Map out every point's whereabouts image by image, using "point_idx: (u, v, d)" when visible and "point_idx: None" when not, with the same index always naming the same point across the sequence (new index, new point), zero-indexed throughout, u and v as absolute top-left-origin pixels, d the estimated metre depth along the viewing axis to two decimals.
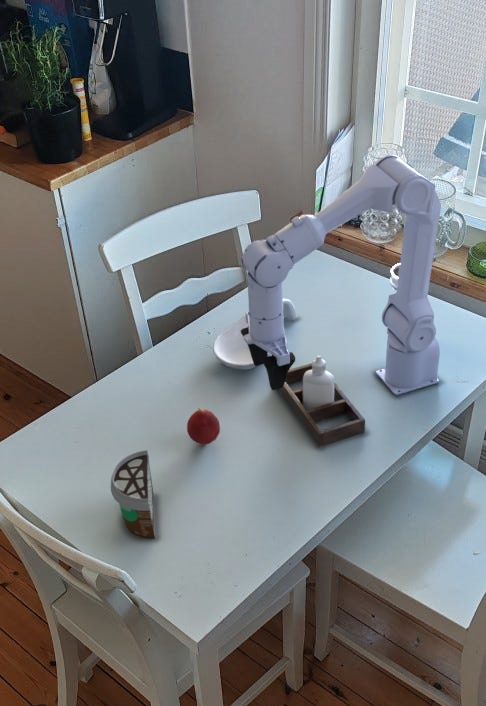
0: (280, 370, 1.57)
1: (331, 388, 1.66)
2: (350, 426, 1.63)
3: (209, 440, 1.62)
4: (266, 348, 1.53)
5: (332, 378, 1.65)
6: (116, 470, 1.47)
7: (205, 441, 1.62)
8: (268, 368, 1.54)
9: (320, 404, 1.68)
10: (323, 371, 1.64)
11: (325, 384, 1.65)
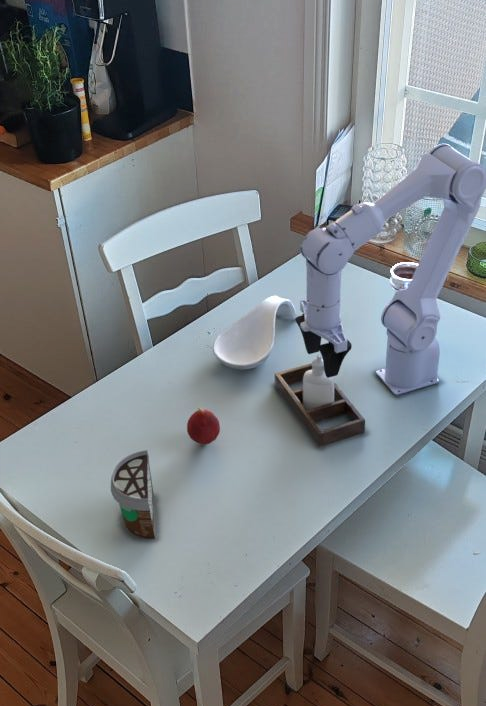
0: (336, 357, 1.59)
1: (331, 388, 1.66)
2: (350, 426, 1.63)
3: (209, 440, 1.62)
4: (323, 335, 1.55)
5: (332, 378, 1.65)
6: (116, 470, 1.47)
7: (205, 441, 1.62)
8: (325, 355, 1.55)
9: (320, 404, 1.68)
10: (323, 371, 1.64)
11: (325, 384, 1.65)
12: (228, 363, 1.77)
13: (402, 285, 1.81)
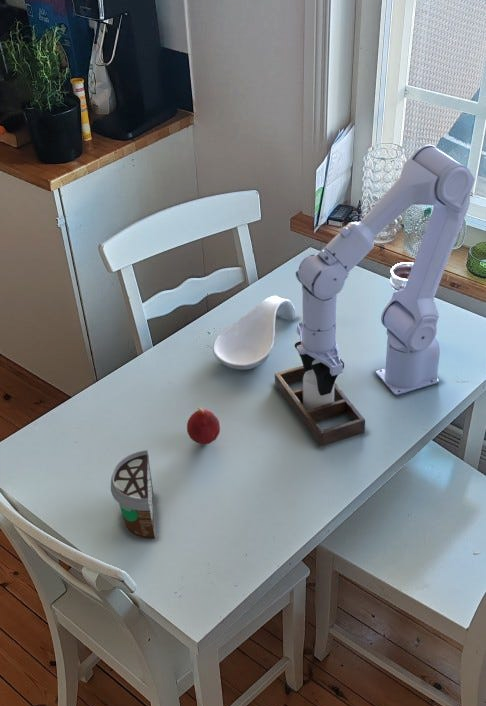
0: (329, 376, 1.62)
1: None
2: (350, 426, 1.63)
3: (209, 440, 1.62)
4: (319, 358, 1.58)
5: None
6: (116, 470, 1.47)
7: (205, 441, 1.62)
8: (318, 374, 1.59)
9: (320, 404, 1.68)
10: None
11: None
12: (228, 363, 1.77)
13: (402, 285, 1.81)
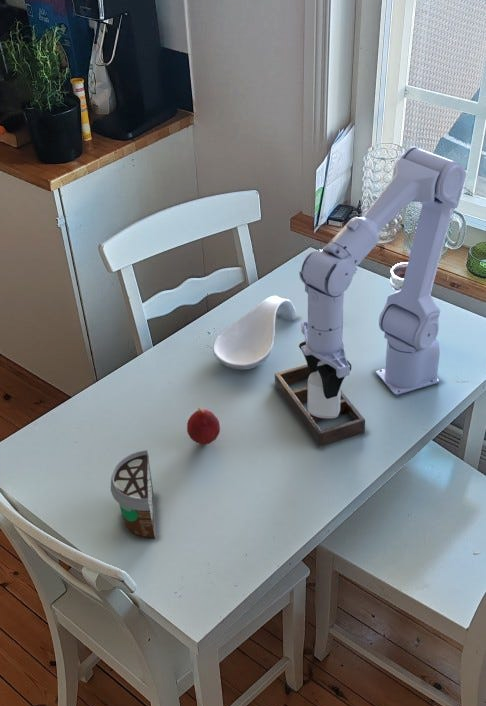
0: (335, 378, 1.54)
1: None
2: (350, 426, 1.63)
3: (209, 440, 1.62)
4: (325, 360, 1.50)
5: None
6: (116, 470, 1.47)
7: (205, 441, 1.62)
8: (324, 376, 1.51)
9: (325, 408, 1.60)
10: None
11: None
12: (228, 363, 1.77)
13: None
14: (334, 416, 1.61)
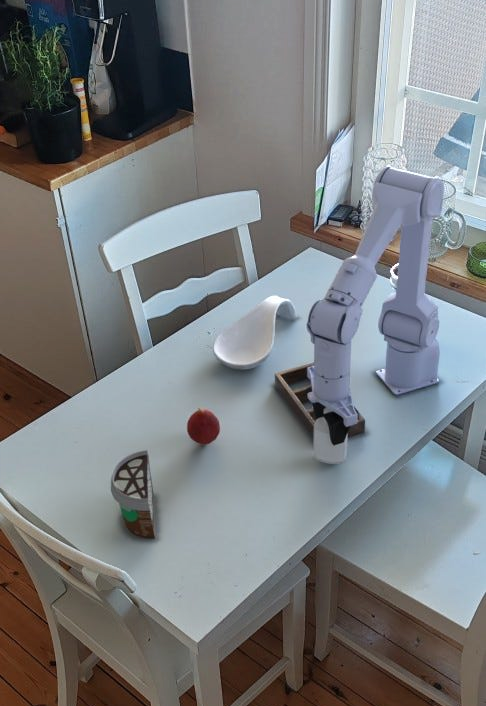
0: (342, 425, 1.51)
1: None
2: None
3: (209, 440, 1.62)
4: (332, 408, 1.46)
5: None
6: (116, 470, 1.47)
7: (205, 441, 1.62)
8: (331, 424, 1.48)
9: (332, 453, 1.56)
10: None
11: None
12: (228, 363, 1.77)
13: None
14: (341, 462, 1.58)
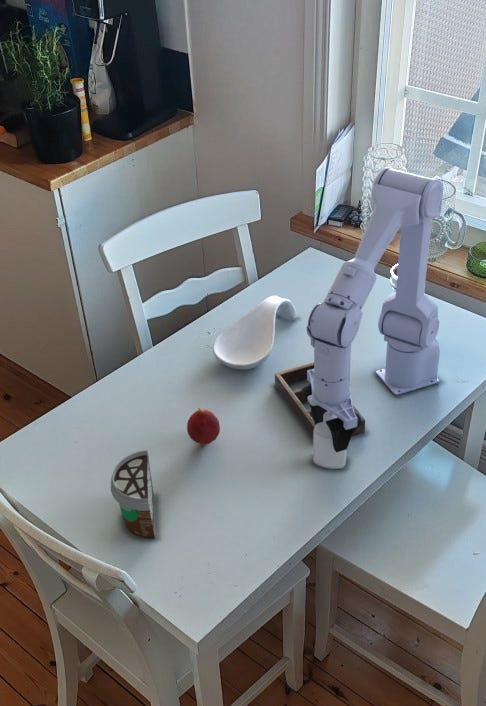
0: (345, 432, 1.51)
1: None
2: None
3: (209, 440, 1.62)
4: (332, 411, 1.47)
5: None
6: (116, 470, 1.47)
7: (205, 441, 1.62)
8: (334, 431, 1.47)
9: (332, 458, 1.57)
10: None
11: None
12: (228, 363, 1.77)
13: None
14: (340, 466, 1.58)
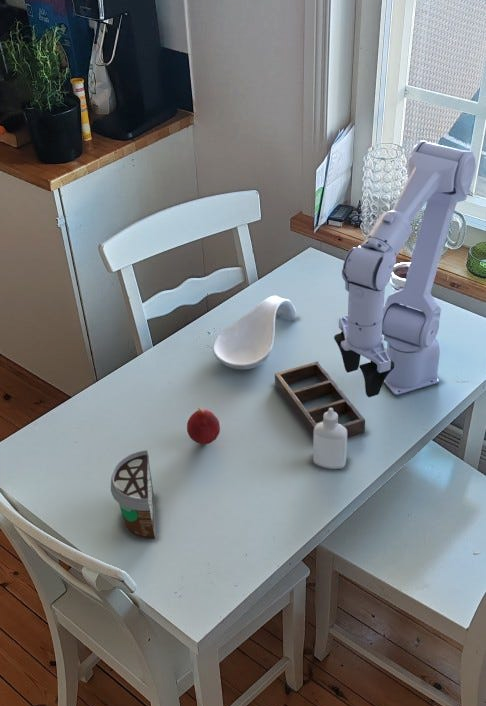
0: (377, 377, 1.54)
1: (344, 442, 1.55)
2: (350, 426, 1.63)
3: (209, 440, 1.62)
4: (366, 355, 1.50)
5: (344, 432, 1.54)
6: (116, 470, 1.47)
7: (205, 441, 1.62)
8: (368, 375, 1.51)
9: (332, 458, 1.57)
10: (335, 424, 1.53)
11: (337, 438, 1.54)
12: (228, 363, 1.77)
13: (402, 285, 1.81)
14: (340, 466, 1.58)
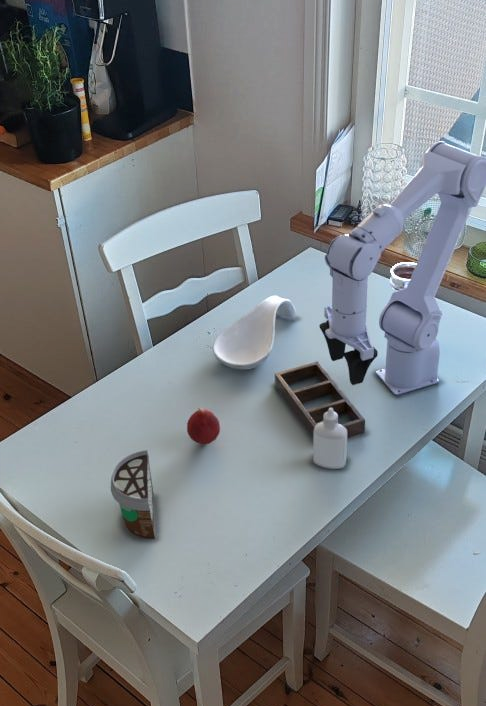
0: (361, 365, 1.57)
1: (344, 442, 1.55)
2: (350, 426, 1.63)
3: (209, 440, 1.62)
4: (349, 342, 1.53)
5: (344, 432, 1.54)
6: (116, 470, 1.47)
7: (205, 441, 1.62)
8: (351, 363, 1.53)
9: (332, 458, 1.57)
10: (335, 424, 1.53)
11: (337, 438, 1.54)
12: (228, 363, 1.77)
13: (402, 285, 1.81)
14: (340, 466, 1.58)
